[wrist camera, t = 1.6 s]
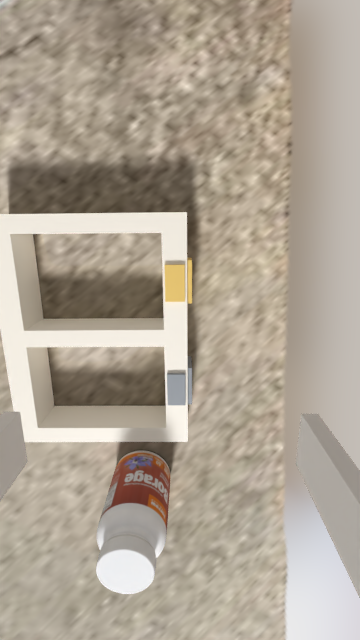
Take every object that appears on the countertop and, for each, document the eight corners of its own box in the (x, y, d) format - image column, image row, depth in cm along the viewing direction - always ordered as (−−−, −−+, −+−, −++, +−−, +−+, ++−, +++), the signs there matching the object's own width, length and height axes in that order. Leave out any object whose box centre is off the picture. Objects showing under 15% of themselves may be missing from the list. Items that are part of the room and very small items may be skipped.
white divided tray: (37, 418, 34) (17, 444, 30) (8, 216, 29) (-21, 214, 25) (191, 418, 34) (192, 443, 30) (190, 215, 29) (192, 211, 24)
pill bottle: (180, 461, 35) (178, 560, 25) (156, 501, 37) (144, 611, 26) (129, 439, 35) (104, 530, 24) (106, 481, 36) (74, 585, 25)
